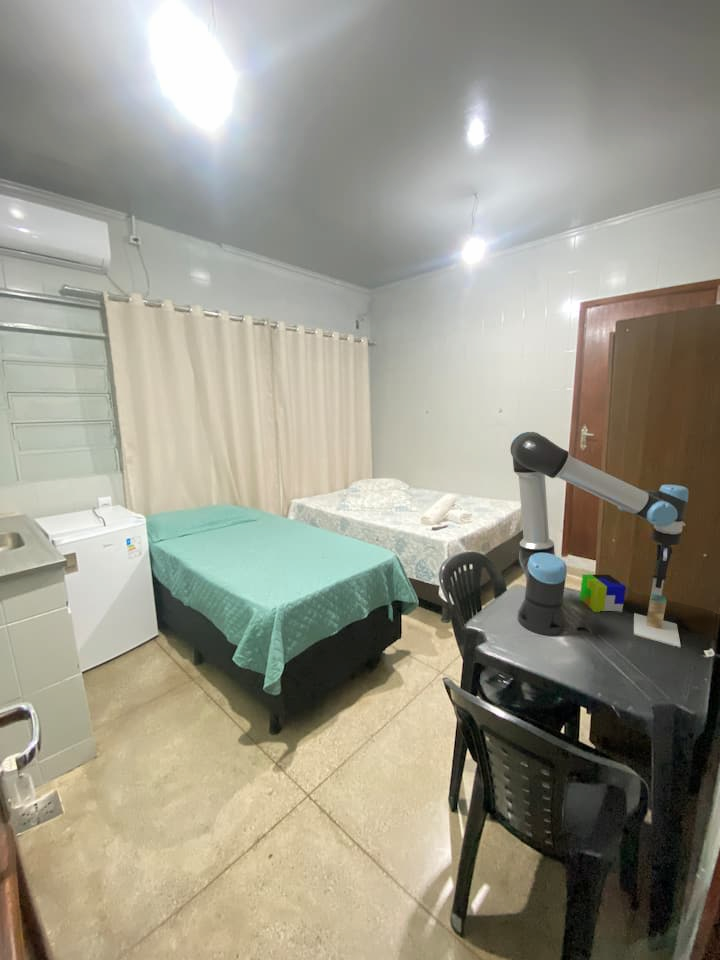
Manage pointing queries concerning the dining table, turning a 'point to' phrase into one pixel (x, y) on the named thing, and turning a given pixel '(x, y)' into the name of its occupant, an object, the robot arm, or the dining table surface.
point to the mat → (656, 631)
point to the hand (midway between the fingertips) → (656, 594)
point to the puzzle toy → (602, 593)
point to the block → (656, 611)
